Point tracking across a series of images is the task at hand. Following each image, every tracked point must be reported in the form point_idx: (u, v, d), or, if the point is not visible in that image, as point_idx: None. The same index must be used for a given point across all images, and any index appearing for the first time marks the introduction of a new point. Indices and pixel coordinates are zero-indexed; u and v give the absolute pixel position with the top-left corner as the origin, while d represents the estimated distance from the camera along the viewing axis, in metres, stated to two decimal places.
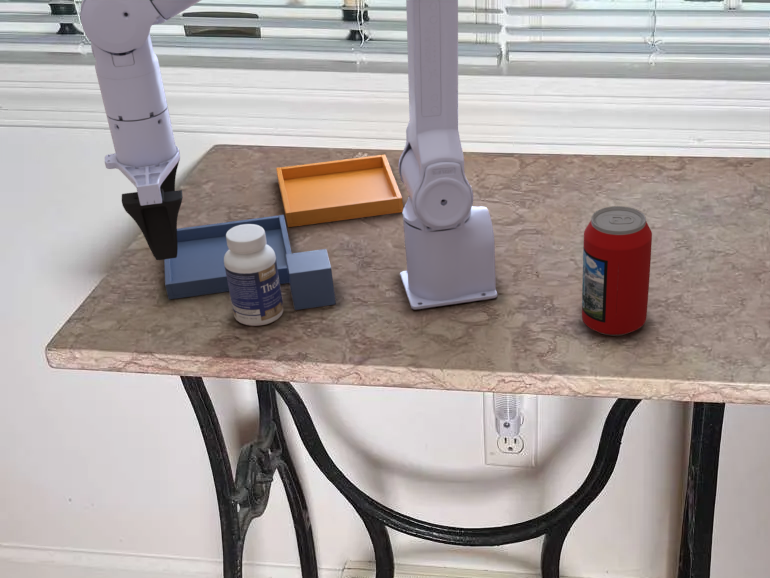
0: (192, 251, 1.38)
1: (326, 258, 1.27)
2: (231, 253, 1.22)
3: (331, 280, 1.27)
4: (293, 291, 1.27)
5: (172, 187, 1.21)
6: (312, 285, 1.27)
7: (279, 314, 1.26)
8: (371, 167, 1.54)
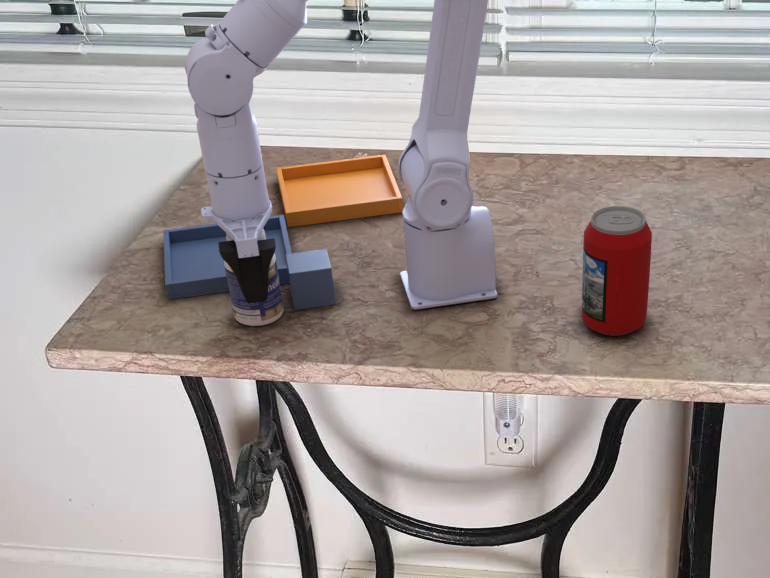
0: (192, 251, 1.38)
1: (326, 258, 1.27)
2: None
3: (331, 280, 1.27)
4: (293, 291, 1.27)
5: None
6: (312, 285, 1.27)
7: (279, 314, 1.26)
8: (371, 167, 1.54)
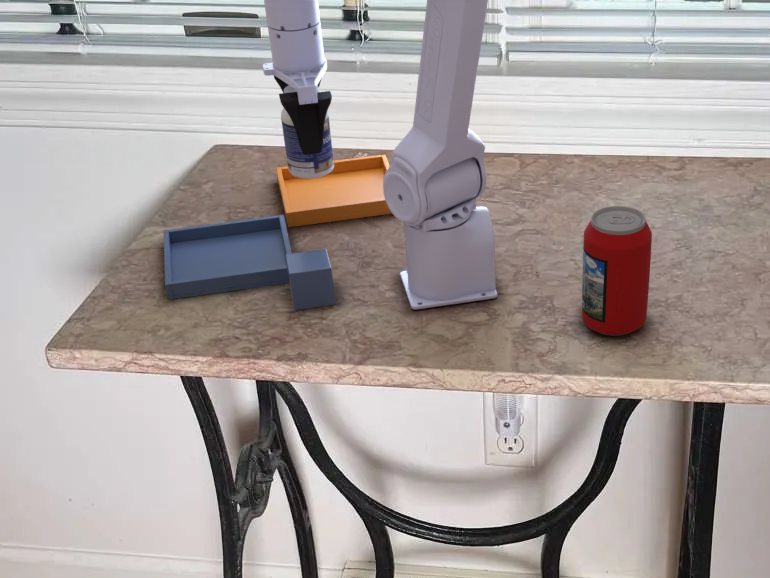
0: (192, 251, 1.38)
1: (326, 258, 1.27)
2: None
3: (331, 280, 1.27)
4: (293, 291, 1.27)
5: None
6: (312, 285, 1.27)
7: (330, 168, 1.38)
8: (371, 167, 1.54)
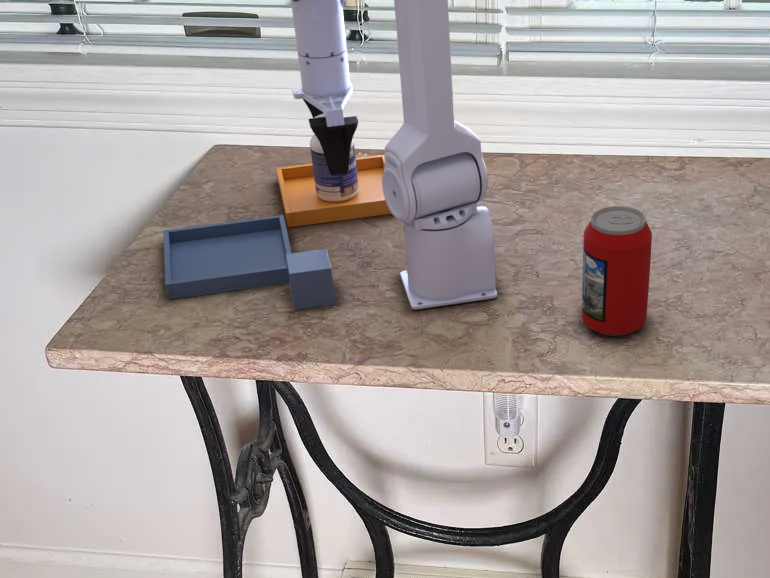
0: (192, 251, 1.38)
1: (326, 258, 1.27)
2: (316, 137, 1.43)
3: (331, 280, 1.27)
4: (293, 291, 1.27)
5: None
6: (312, 285, 1.27)
7: (355, 192, 1.48)
8: (371, 167, 1.54)
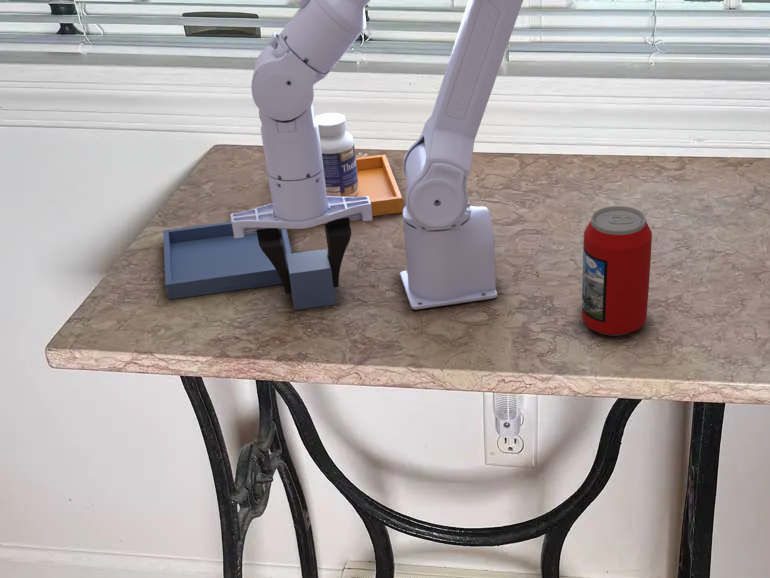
0: (192, 251, 1.38)
1: (326, 258, 1.27)
2: None
3: (331, 280, 1.27)
4: (293, 291, 1.27)
5: (330, 258, 1.26)
6: (312, 285, 1.27)
7: (355, 192, 1.48)
8: (371, 167, 1.54)
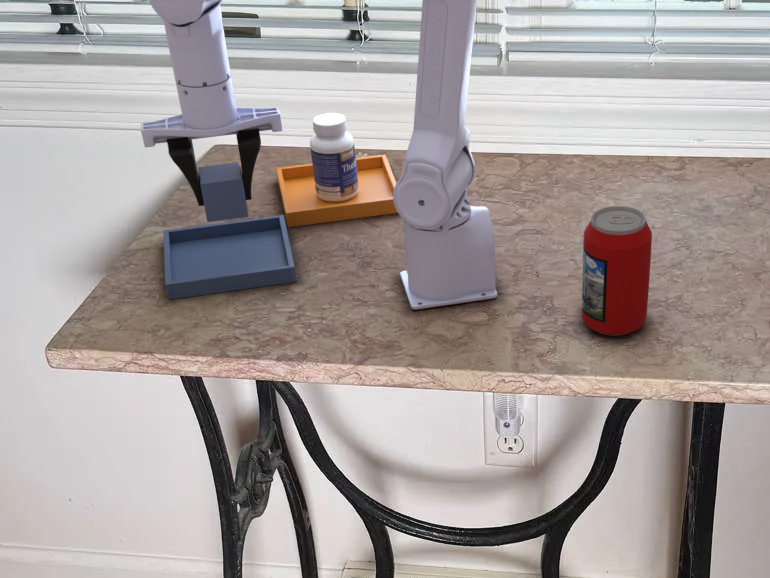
0: (192, 251, 1.38)
1: (238, 170, 1.29)
2: (317, 137, 1.43)
3: (243, 191, 1.28)
4: (205, 202, 1.28)
5: (241, 169, 1.28)
6: (223, 196, 1.28)
7: (355, 192, 1.48)
8: (371, 167, 1.54)
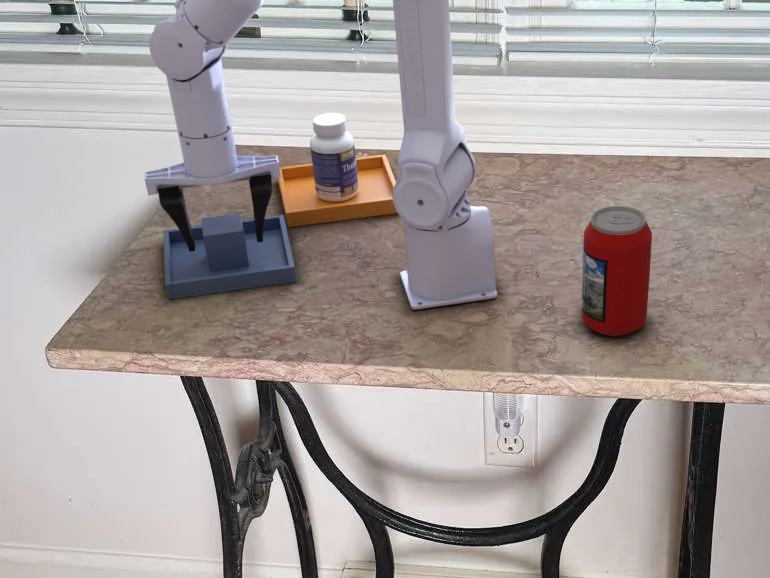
0: (192, 251, 1.38)
1: (240, 222, 1.34)
2: (317, 137, 1.43)
3: (244, 242, 1.33)
4: (207, 253, 1.33)
5: (254, 213, 1.32)
6: (225, 247, 1.33)
7: (355, 192, 1.48)
8: (371, 167, 1.54)
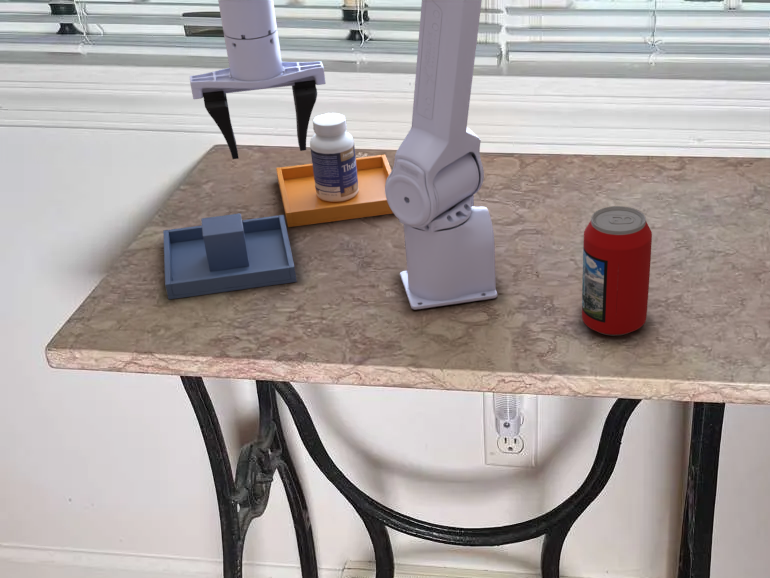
0: (192, 251, 1.38)
1: (240, 222, 1.34)
2: (317, 137, 1.43)
3: (244, 242, 1.33)
4: (207, 253, 1.33)
5: (298, 120, 1.32)
6: (225, 247, 1.33)
7: (355, 192, 1.48)
8: (371, 167, 1.54)
